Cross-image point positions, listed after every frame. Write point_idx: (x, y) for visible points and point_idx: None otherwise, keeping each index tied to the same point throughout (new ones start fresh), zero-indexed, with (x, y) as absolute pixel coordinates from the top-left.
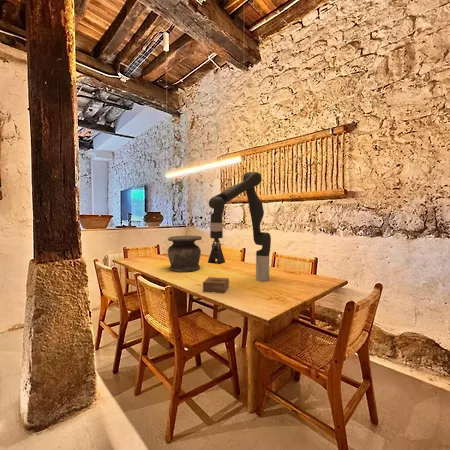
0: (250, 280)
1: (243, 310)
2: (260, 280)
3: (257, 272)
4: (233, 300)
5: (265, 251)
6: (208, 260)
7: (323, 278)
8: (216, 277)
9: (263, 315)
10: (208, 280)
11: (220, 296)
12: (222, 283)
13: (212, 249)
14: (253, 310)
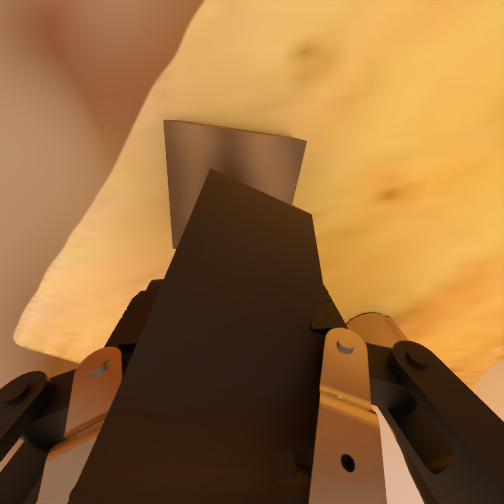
0: (360, 298)
1: (33, 297)
2: (347, 325)
3: (371, 340)
4: (110, 265)
5: (408, 469)
6: (203, 185)
7: None
8: (294, 193)
9: (29, 335)
10: (218, 152)
11: (136, 218)
12: (174, 239)
13: (125, 375)
14: (50, 317)
